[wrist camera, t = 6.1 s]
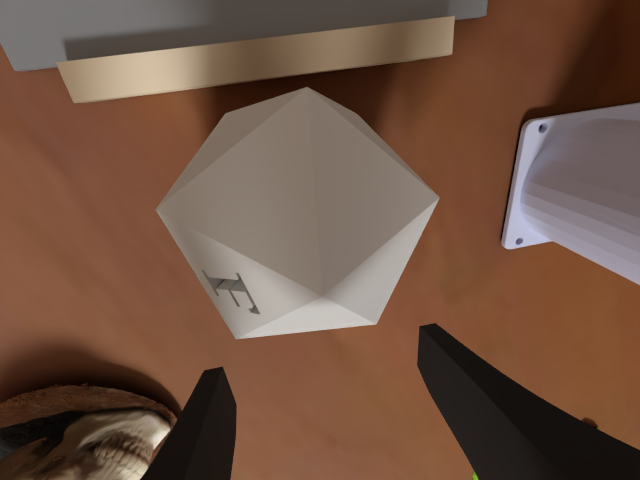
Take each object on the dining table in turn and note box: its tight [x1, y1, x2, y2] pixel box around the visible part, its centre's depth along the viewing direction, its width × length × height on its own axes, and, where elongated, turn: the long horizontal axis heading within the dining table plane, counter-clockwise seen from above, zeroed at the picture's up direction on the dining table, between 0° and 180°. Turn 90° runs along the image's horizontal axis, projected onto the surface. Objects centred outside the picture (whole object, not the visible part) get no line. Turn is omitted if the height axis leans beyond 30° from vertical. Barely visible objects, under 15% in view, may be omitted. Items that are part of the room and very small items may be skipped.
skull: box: [0, 383, 177, 480], centre depth 20 cm, size 12×10×10 cm
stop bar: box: [56, 16, 455, 103], centre depth 13 cm, size 16×1×1 cm, turn 97°
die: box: [156, 87, 440, 339], centre depth 11 cm, size 8×9×10 cm
